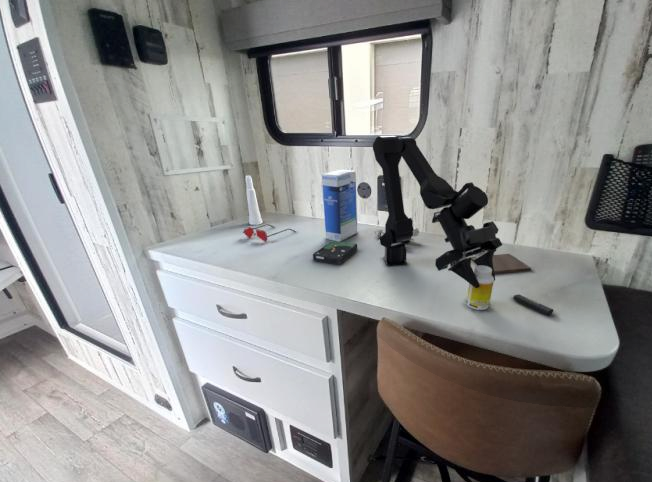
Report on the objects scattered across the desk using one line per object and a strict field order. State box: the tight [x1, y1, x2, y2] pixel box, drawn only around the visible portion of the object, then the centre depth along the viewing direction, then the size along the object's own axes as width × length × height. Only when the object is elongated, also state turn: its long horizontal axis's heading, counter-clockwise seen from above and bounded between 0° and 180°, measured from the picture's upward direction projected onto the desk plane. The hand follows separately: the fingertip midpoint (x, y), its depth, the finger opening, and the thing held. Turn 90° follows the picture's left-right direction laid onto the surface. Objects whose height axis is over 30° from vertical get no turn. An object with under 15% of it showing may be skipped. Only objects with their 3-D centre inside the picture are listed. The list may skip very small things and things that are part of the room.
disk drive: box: [312, 240, 358, 265], centre depth 108 cm, size 10×3×15 cm
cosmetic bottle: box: [244, 174, 264, 226], centre depth 142 cm, size 6×6×22 cm
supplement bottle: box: [465, 265, 495, 311], centre depth 76 cm, size 6×6×10 cm
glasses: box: [242, 223, 297, 243], centre depth 129 cm, size 14×16×5 cm
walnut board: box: [470, 253, 532, 275], centre depth 100 cm, size 14×12×1 cm
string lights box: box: [321, 169, 358, 242], centre depth 123 cm, size 13×8×26 cm, turn 150°
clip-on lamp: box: [374, 227, 420, 242], centre depth 121 cm, size 12×6×18 cm
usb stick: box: [512, 293, 554, 316], centre depth 76 cm, size 10×3×2 cm, turn 34°
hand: (485, 284), depth 74 cm, fingers closed on supplement bottle, 5 cm apart
